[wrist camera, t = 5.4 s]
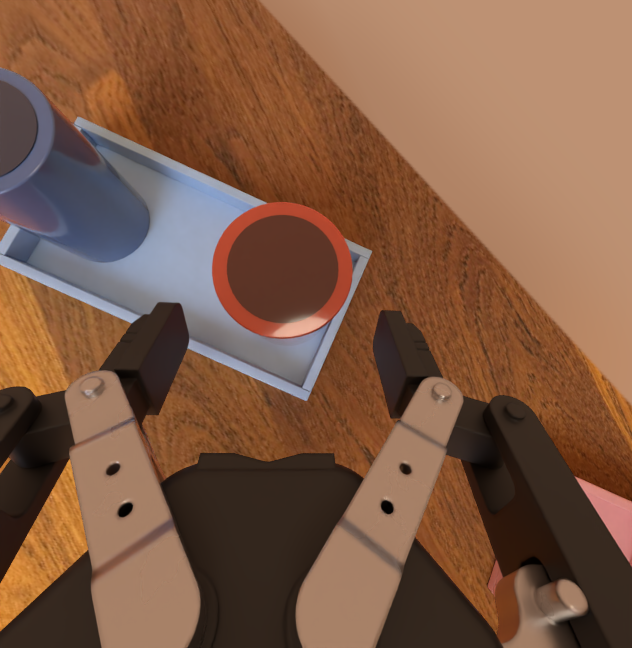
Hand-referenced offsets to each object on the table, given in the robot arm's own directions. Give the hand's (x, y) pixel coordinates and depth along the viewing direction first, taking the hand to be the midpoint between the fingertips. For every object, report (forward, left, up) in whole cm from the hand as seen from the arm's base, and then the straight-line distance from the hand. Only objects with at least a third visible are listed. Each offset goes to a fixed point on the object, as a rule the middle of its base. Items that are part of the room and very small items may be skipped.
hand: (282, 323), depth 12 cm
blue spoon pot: (-2, -14, -7) cm, 16 cm away
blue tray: (-2, -7, -8) cm, 11 cm away
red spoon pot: (-2, -1, -7) cm, 8 cm away
